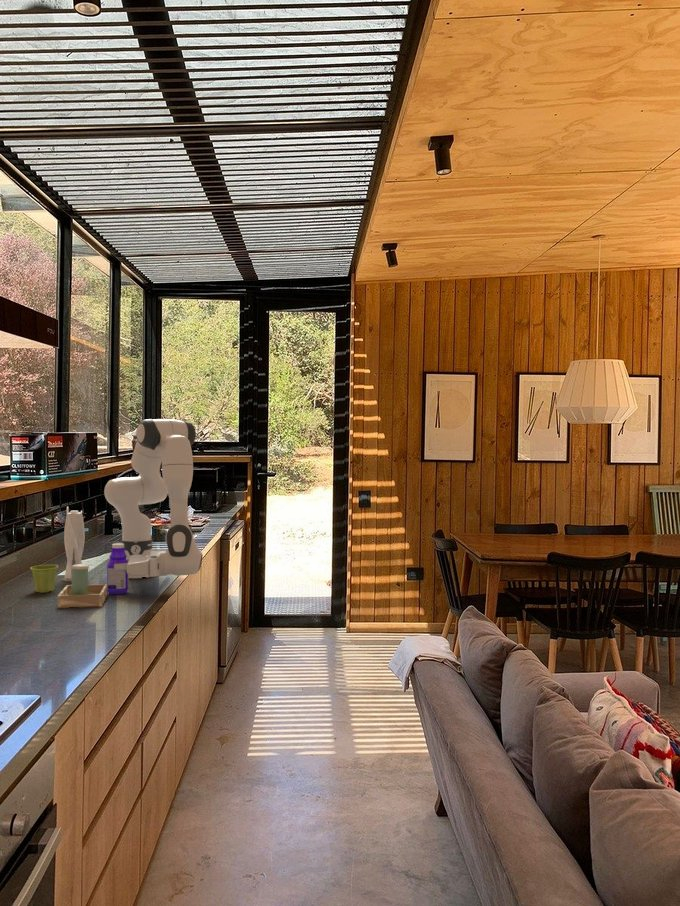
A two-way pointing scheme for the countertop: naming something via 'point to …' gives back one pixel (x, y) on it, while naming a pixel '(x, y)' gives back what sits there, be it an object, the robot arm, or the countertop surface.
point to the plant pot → (44, 577)
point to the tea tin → (79, 579)
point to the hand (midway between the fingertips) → (115, 564)
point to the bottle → (117, 571)
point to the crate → (83, 597)
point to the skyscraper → (73, 541)
